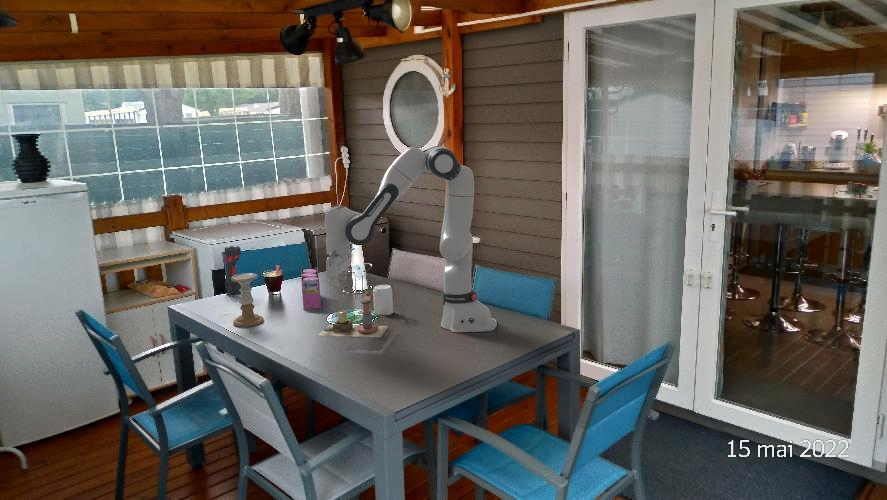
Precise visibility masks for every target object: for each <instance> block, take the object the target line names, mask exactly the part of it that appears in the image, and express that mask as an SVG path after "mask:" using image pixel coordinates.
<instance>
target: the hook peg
mask: <svg viewBox="0 0 887 500" xmlns="http://www.w3.org/2000/svg"><path fill="white" fill-rule="evenodd" d="M347 316H348V315H347V311H342V310H340V311H338V312H337V317H338V319H337V320H339V324H341V325H347V320H348V318H347Z"/></svg>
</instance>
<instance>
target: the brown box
mask: <svg viewBox="0 0 887 500" xmlns="http://www.w3.org/2000/svg"><path fill="white" fill-rule="evenodd" d="M332 325H333V332H340V333H348V332H349V331H350V330H351V329H352V328H353V325H354V323H353V320H351V319H350V320H348V319H347V325H341V324H339V320H338V319H337V320H336V321H335V322H334V323H333V324H332Z"/></svg>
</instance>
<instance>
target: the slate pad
mask: <svg viewBox="0 0 887 500" xmlns="http://www.w3.org/2000/svg"><path fill="white" fill-rule="evenodd" d="M323 330H324V331H333V327H327V326H325V327H324V328H323ZM323 330H322V331H323Z"/></svg>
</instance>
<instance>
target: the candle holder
mask: <svg viewBox="0 0 887 500" xmlns="http://www.w3.org/2000/svg"><path fill="white" fill-rule="evenodd" d="M256 279H258V274H257V273H252V272H251V273H250V272H246V273H245V272H244V273H236V275H234V276H232V277H231V280H232V281H236V282H238V283H239V284H240V285H241V288H240V290H239V291H240V292H241V293H240V299H239V303H240V304H241V305H240V306H239V309H240V310H241V315H239V316H238V317H236V318H235V319H234V320H233V321H232V324H233V326H234V327H237V328H251V327H256V326H259V325H261V324H262V323H264V321H265V319H264V316H262V315H259V314H258V313H254V308H255V305H254V304H253V303H254V298H253V295H252V290H253V289H252V287H251V286H250V284H251V282H252V281H254V280H256Z"/></svg>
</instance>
